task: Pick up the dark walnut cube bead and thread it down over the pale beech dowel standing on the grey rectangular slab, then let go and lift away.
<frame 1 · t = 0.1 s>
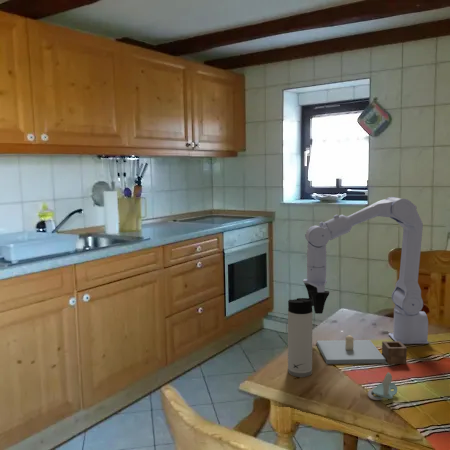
hand: (316, 309, 142), 10 cm above the table, tool pointing down, fingers open, 7 cm apart
travel mug: (300, 373, 121), on the table
grey rectangular slab: (349, 353, 133), on the table
pacifier: (381, 397, 108), on the table
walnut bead: (393, 360, 128), on the table
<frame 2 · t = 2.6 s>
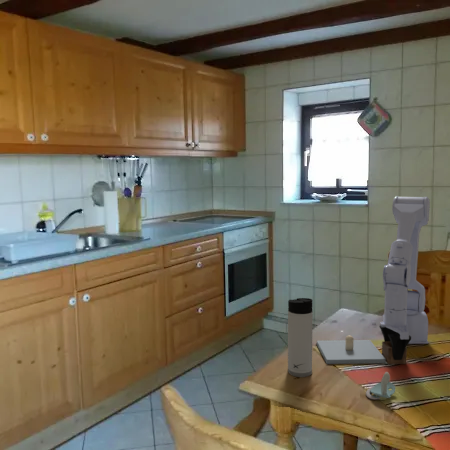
hand: (394, 355, 128), 1 cm above the table, tool pointing down, fingers closed on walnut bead, 5 cm apart
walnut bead: (393, 360, 128), on the table, touching gripper
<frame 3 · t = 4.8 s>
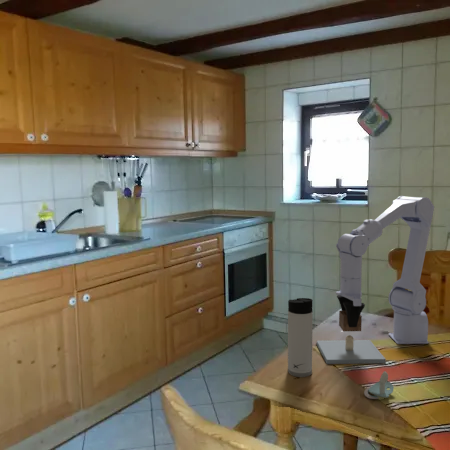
hand: (349, 323, 132), 9 cm above the table, tool pointing down, fingers closed on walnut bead, 5 cm apart
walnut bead: (349, 328, 132), point 7 cm above the table, touching gripper
when the fingers open (4 cm above the table, at t = 7.3 s): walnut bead drops 1 cm, resting on grey rectangular slab.
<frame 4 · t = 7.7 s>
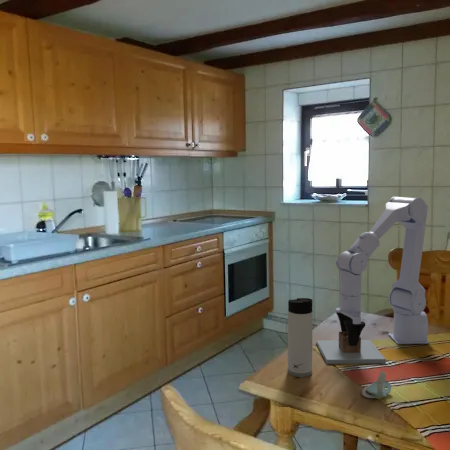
hand: (349, 340, 133), 4 cm above the table, tool pointing down, fingers open, 7 cm apart
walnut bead: (349, 349, 133), point 1 cm above the table, touching grey rectangular slab
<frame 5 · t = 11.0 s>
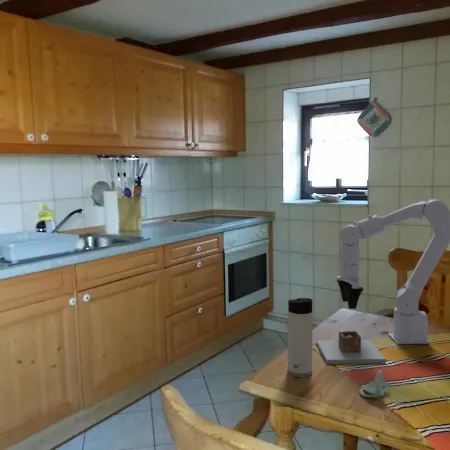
hand: (349, 304, 148), 9 cm above the table, tool pointing down, fingers open, 7 cm apart
at the end: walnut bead 0.0 cm from the grey rectangular slab (horizontally); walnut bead point 1.2 cm above the table; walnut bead tilted 0° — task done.
